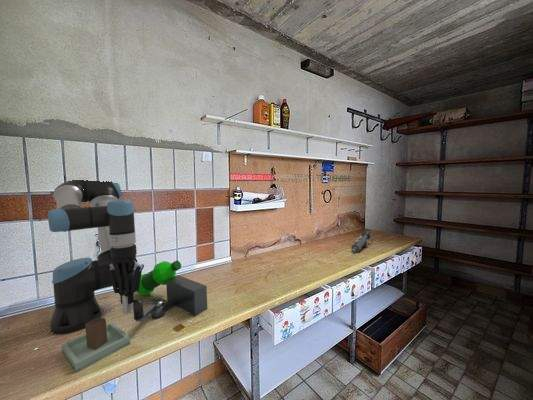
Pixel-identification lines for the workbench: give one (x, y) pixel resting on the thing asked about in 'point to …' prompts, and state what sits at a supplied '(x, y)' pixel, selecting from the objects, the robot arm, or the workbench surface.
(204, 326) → the workbench surface
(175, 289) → the stand
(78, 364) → the tray
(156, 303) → the crank
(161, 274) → the plastic bottle
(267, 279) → the workbench surface
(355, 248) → the hydraulic cylinder
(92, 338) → the wooden block
